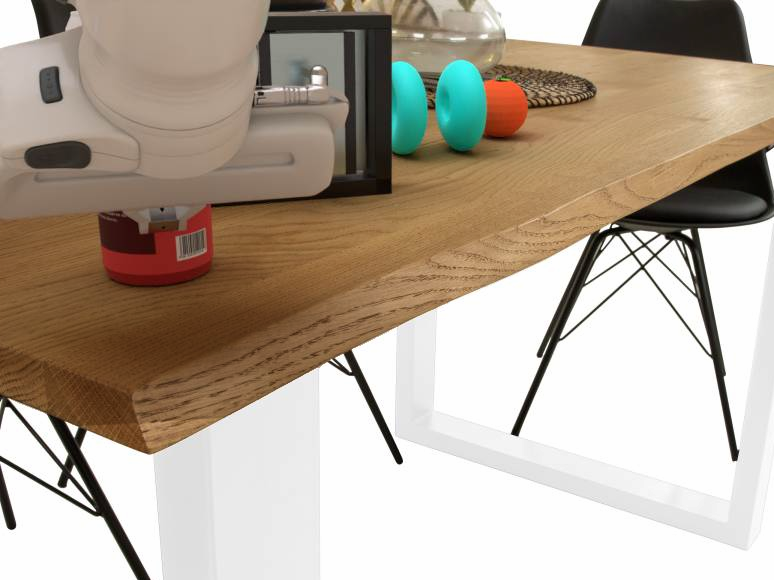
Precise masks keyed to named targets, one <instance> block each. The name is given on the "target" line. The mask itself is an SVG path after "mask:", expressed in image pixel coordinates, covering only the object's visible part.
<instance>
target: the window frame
mask: <svg viewBox="0 0 774 580" xmlns="http://www.w3.org/2000/svg"><path fill="white" fill-rule="evenodd" d="M342 31H352V32H355V77H356V163H357V174H350V175H346V174H344V175H332V179H331V183H330V185H329V186H328V187H327V188H326V189H324V190H323V191H321V192H320V193H318V194H316V195H313V196H305V197H292V198H279V199H266V200H253V201H240V202H228V203H215V204H211V208H214V207H226V206H227V207H228V206H241V205H253V204H267V203H279V202H293V200H295V201H306V200H305V199H308V200H321V199H333V198H334V199H335V198H346V197H360V196H372V195H385V194H392V193H393V151H392V63H393V14H389V13H386V12H382V11H379V10H377V11H375V10H374V11H373V10H372V11H369V10H368V11H275V12H274V11H273V12H272V11H269V13H268V18H267V23H266V26H265V29H264V32H263V33H284V32H342Z"/></svg>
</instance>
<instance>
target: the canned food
mask: <svg viewBox="0 0 774 580" xmlns="http://www.w3.org/2000/svg"><path fill="white" fill-rule="evenodd" d="M97 221H98V229H99V230H98V231H99V241H100V247H101V249H100V250H101V258H102V259H101V260H102V265H103V268H104V270H105V272H106V274H107V276H108V277H109V278H111V279H112V280H114V281H115V282H118V283H121V284H126V285H129V286H131V285H132V286H142V287H149V286H150V287H154V286H155V287H156V286H166V285H173V284H180V283H184V282H187V281H188V282H189V281H191V280H194V279H197V278H199V277H201V276H203V275H204V274H206V273H207V272H209V270H210V269H211V266H212V263H213V258H214V254H215V253H214V239H213V237H214V236H213V221H212V207H211V204H207V206H206V207H205V208H203V209H202V210H201V211H199V212H198V213H197V214H195V215H194V216H192V217H191V218H190V219H187V226H186V230H183V231H169V232H157V233H147V234H140V231H139V225H138V222H136V221H135V220H133V219H132V218H130V217H128V216H127V215H125V214H124V213H123V212H122V211H111V212H99V213H97Z"/></svg>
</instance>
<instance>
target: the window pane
mask: <svg viewBox="0 0 774 580" xmlns="http://www.w3.org/2000/svg"><path fill="white" fill-rule="evenodd" d="M256 48H257V53H258V75H257V79H258V86H304V85H308V84H321V85H326V86H328V88H329V90H330V91H336V92H339V93H341V94H343V95H345V96H346V98H347V99H348V101H349V112H348V115H347V118H346V121H345V124H344V126H343V128H342V129H341V130H340V131H338V132H337V133H336V134H334V135H333V139H334V147H335V157H334V168H333V174H332V175H344V174H346V175H350V174H357V163H356V77H355V32H352V31H342V32H284V33H263V34H262V36H261V39H260V41H259V42H258V44H257V46H256Z"/></svg>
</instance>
